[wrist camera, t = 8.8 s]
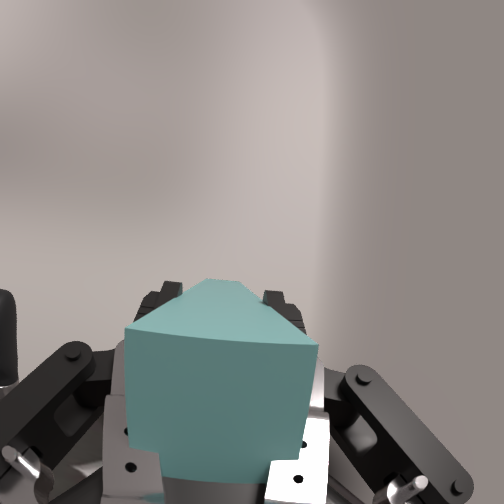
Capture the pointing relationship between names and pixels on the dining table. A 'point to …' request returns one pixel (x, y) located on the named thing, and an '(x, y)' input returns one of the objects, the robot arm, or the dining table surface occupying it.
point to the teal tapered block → (217, 384)
